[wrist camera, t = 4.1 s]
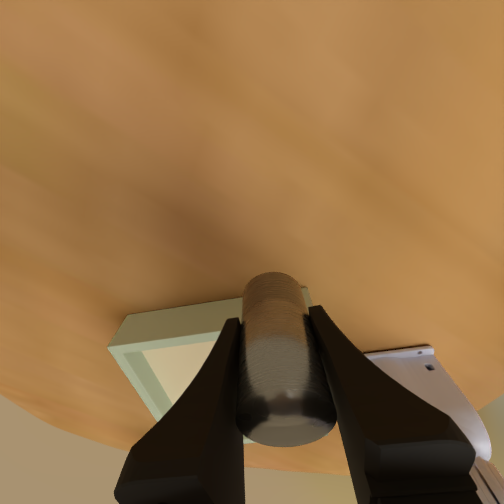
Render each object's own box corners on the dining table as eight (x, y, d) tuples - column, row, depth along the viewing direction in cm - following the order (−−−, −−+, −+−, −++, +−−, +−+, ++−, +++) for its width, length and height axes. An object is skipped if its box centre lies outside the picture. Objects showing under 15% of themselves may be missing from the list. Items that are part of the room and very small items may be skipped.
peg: (298, 267, 14) (335, 382, 8) (305, 315, 16) (339, 442, 10) (236, 277, 14) (224, 396, 8) (249, 323, 16) (246, 450, 10)
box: (307, 287, 23) (316, 317, 20) (319, 400, 32) (328, 435, 28) (127, 314, 25) (106, 347, 21) (184, 415, 33) (176, 450, 30)
